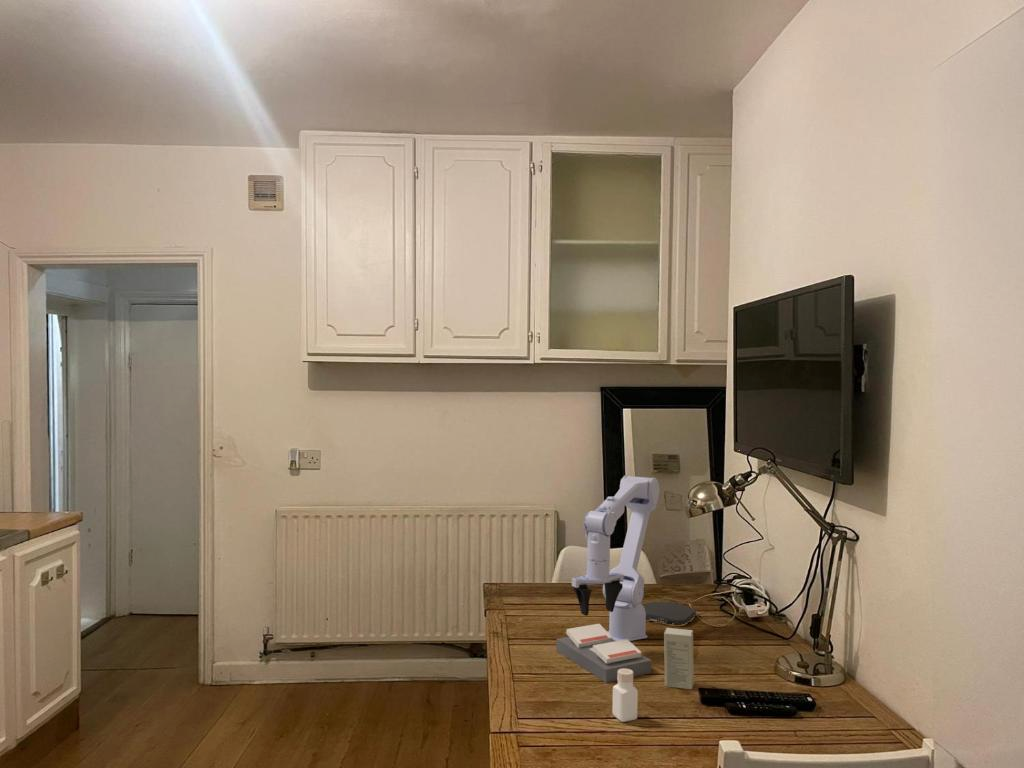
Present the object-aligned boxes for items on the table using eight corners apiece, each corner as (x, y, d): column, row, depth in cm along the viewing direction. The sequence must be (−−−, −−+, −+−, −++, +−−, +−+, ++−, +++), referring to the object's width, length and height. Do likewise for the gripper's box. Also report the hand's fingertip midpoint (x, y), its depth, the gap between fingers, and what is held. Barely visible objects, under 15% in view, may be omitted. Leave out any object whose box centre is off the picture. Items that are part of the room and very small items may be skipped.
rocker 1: (598, 627, 189) (599, 623, 189) (611, 641, 184) (612, 637, 183) (566, 633, 184) (566, 629, 184) (578, 647, 179) (578, 643, 179)
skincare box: (693, 683, 167) (694, 629, 167) (692, 690, 162) (693, 636, 162) (665, 678, 169) (666, 626, 169) (663, 686, 165) (663, 632, 165)
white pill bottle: (621, 723, 146) (622, 676, 146) (611, 715, 150) (611, 669, 150) (638, 720, 148) (639, 673, 148) (627, 711, 151) (628, 666, 151)
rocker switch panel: (598, 642, 191) (598, 630, 191) (651, 672, 172) (651, 659, 172) (556, 650, 185) (556, 638, 185) (605, 682, 166) (606, 668, 166)
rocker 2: (626, 643, 178) (626, 639, 178) (640, 656, 173) (641, 652, 173) (592, 650, 174) (592, 645, 173) (606, 663, 168) (607, 659, 168)
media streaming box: (699, 616, 216) (699, 606, 216) (682, 630, 203) (683, 619, 203) (653, 607, 224) (653, 597, 224) (634, 620, 211) (634, 610, 211)
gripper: (612, 553, 191) (611, 604, 191) (565, 557, 184) (564, 611, 184) (628, 558, 185) (627, 612, 184) (580, 564, 178) (579, 619, 178)
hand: (597, 612), depth 184 cm, fingers open, 7 cm apart
